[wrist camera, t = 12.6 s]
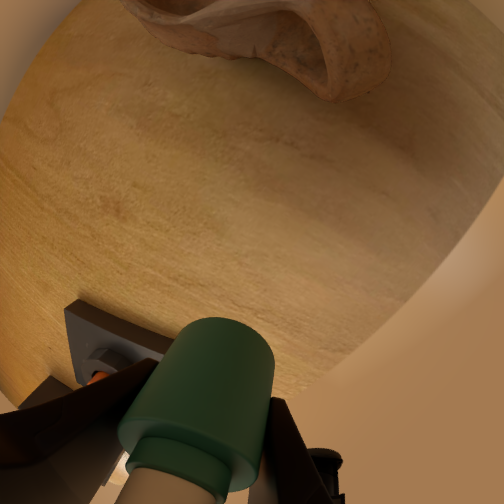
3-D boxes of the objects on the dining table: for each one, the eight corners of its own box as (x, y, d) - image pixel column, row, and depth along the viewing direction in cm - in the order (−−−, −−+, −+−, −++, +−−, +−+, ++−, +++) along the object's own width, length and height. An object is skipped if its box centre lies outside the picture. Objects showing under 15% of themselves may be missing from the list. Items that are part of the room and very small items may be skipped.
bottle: (290, 337, 9) (271, 540, 2) (256, 405, 10) (221, 555, 4) (185, 300, 9) (62, 461, 3) (169, 373, 10) (92, 506, 4)
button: (124, 380, 20) (115, 393, 18) (126, 402, 21) (118, 415, 19) (94, 365, 20) (83, 376, 18) (98, 388, 21) (89, 399, 19)
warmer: (119, 415, 27) (86, 465, 19) (125, 449, 30) (101, 491, 22) (49, 374, 28) (13, 411, 19) (63, 414, 31) (36, 448, 23)
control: (191, 345, 22) (173, 376, 18) (181, 414, 25) (168, 442, 21) (77, 298, 22) (51, 317, 19) (86, 371, 26) (68, 391, 22)
